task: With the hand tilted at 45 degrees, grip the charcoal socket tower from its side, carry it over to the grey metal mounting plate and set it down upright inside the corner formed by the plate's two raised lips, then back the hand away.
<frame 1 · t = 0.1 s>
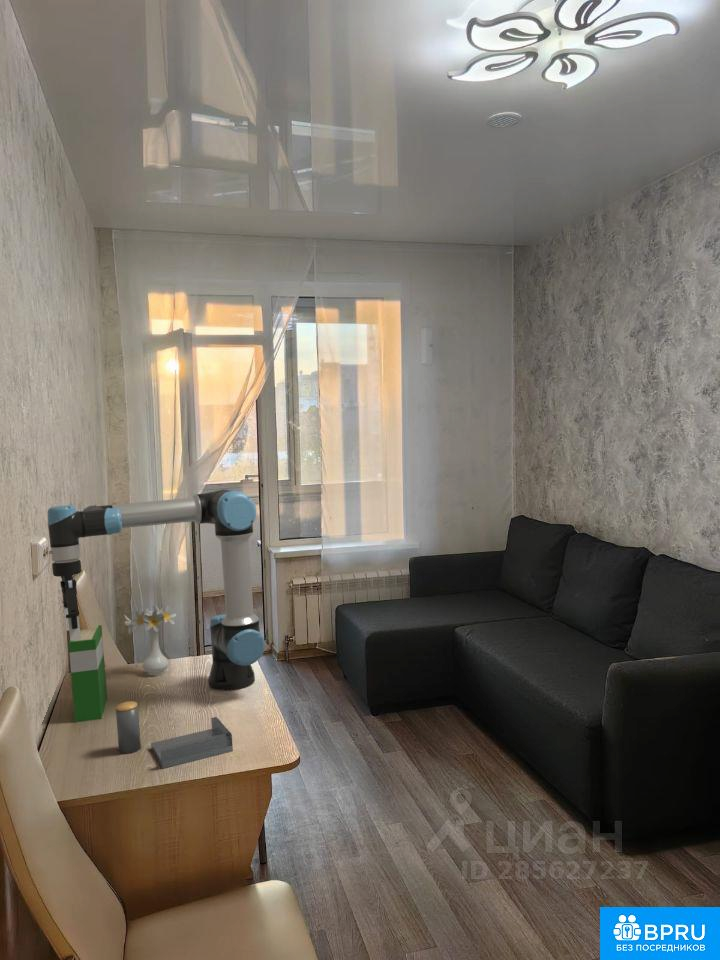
hand: (73, 634, 208), 28 cm above the table, fingers open, 13 cm apart
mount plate: (191, 749, 193), on the table
hardback book: (91, 710, 226), on the table
socket tower: (129, 749, 195), on the table
flower vase: (154, 674, 258), on the table
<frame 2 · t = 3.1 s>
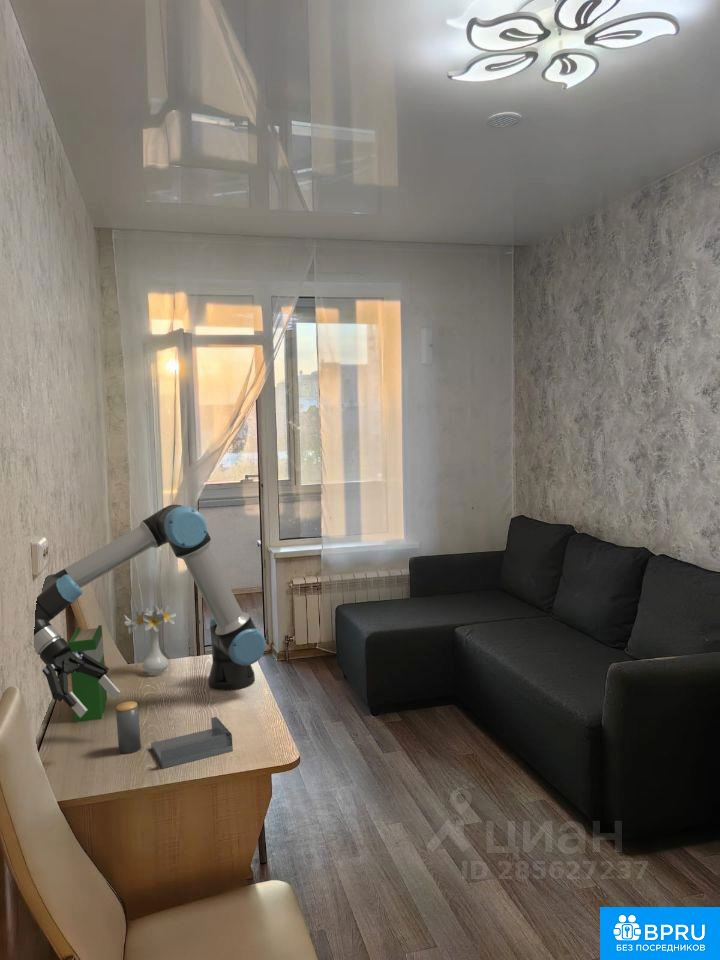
hand: (100, 704, 196), 12 cm above the table, fingers open, 13 cm apart
nothing on the table moved.
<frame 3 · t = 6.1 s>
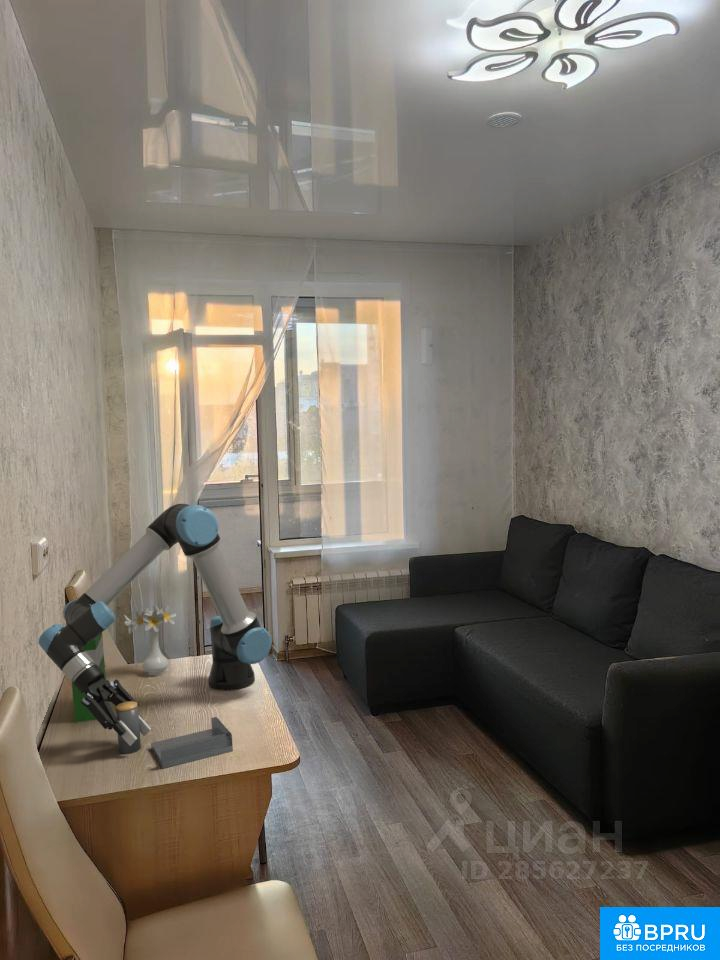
hand: (140, 737, 194), 4 cm above the table, fingers closed on socket tower, 6 cm apart
socket tower: (129, 749, 195), on the table, touching gripper
everything else where it was.
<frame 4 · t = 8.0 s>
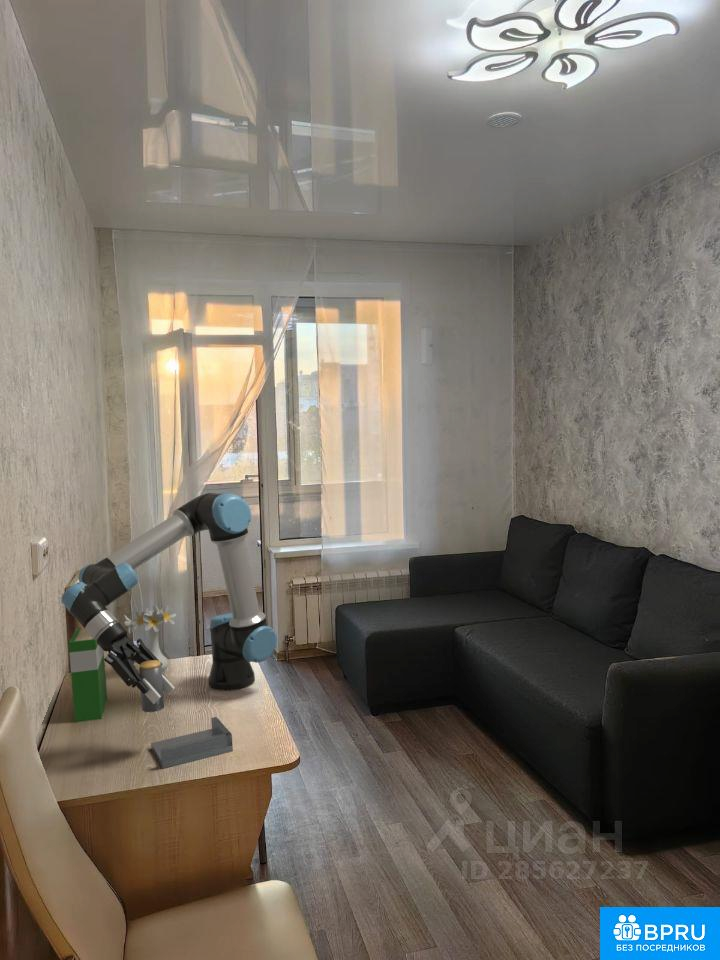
hand: (164, 695, 191), 15 cm above the table, fingers closed on socket tower, 6 cm apart
socket tower: (153, 708, 193), point 11 cm above the table, touching gripper
everything else where it was.
when the fingers open (7 cm above the table, at t = 10.4 s): socket tower drops 1 cm, resting on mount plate.
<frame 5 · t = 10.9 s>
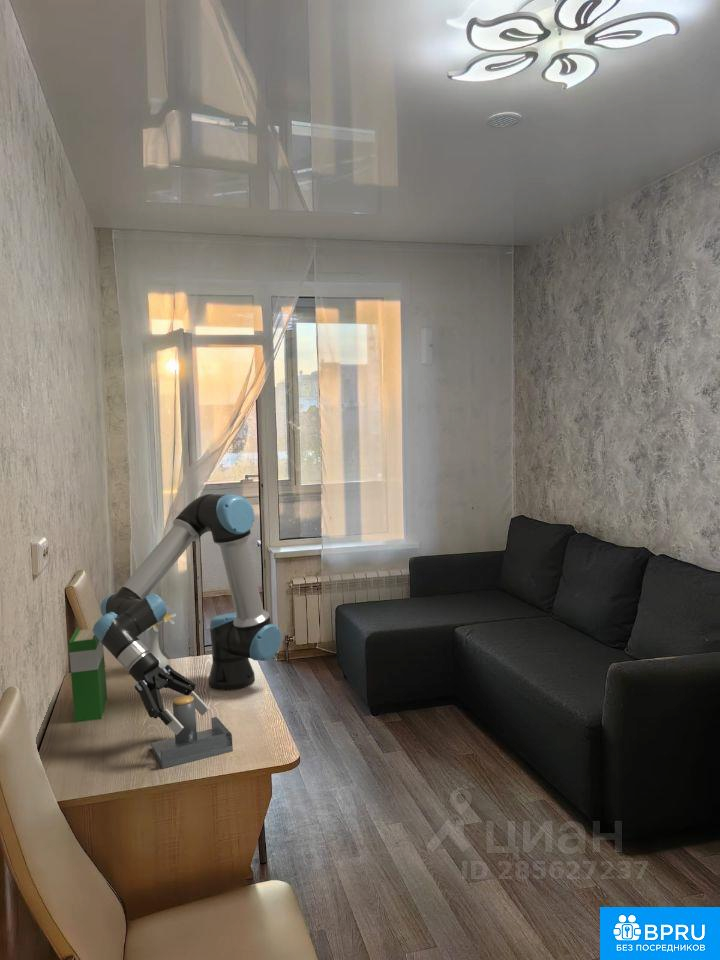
hand: (193, 721, 192), 8 cm above the table, fingers open, 12 cm apart
socket tower: (186, 743, 193), point 2 cm above the table, touching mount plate
everything else where it was.
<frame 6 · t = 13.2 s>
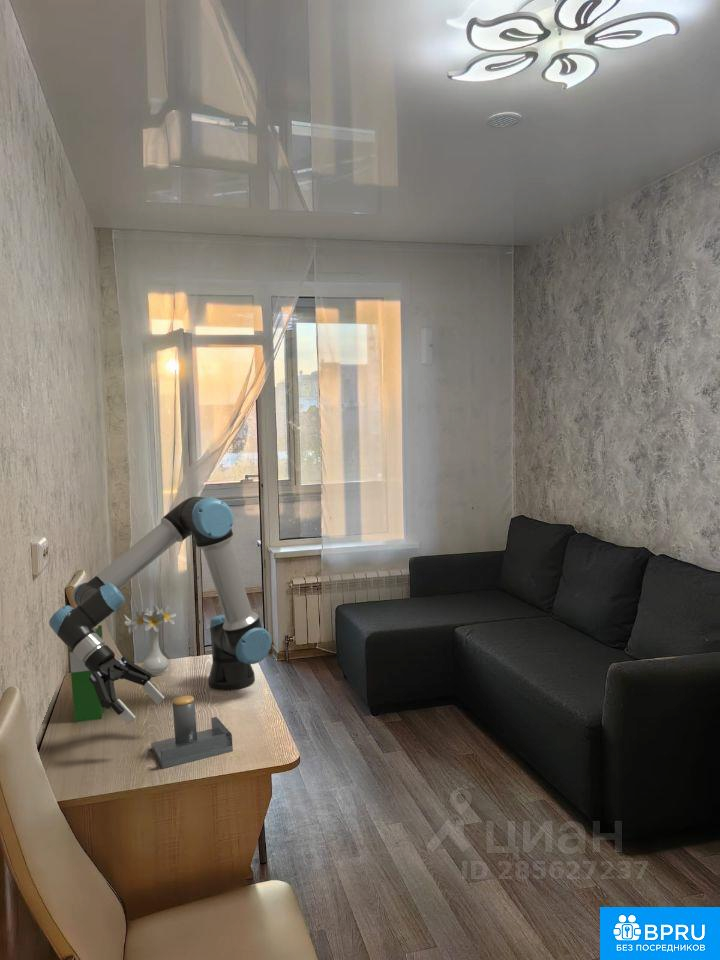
hand: (147, 710, 197), 9 cm above the table, fingers open, 13 cm apart
nothing on the table moved.
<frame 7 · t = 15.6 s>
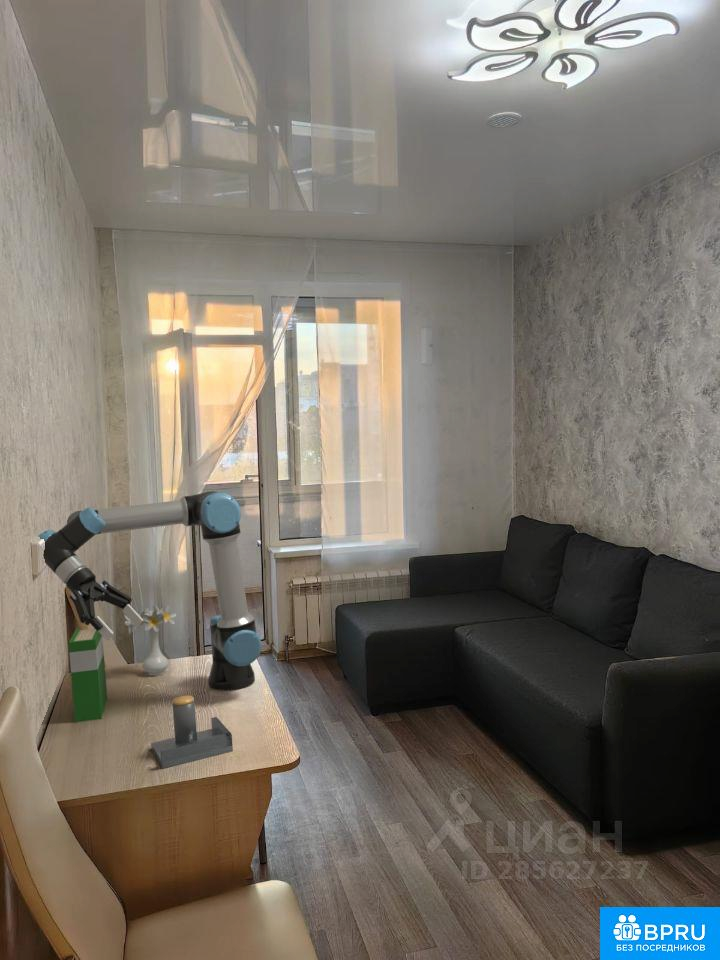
hand: (125, 630, 203), 30 cm above the table, fingers open, 13 cm apart
nothing on the table moved.
at the end: socket tower inside the target area on the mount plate (1.4 cm from its centre), point 1.5 cm above the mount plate's base; socket tower tilted 0°; the gripper is holding nothing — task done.
